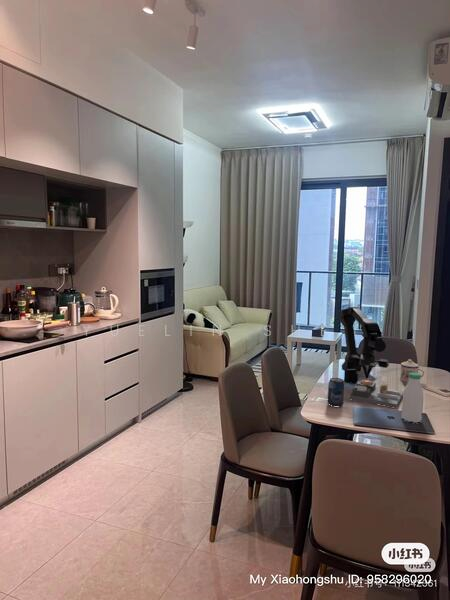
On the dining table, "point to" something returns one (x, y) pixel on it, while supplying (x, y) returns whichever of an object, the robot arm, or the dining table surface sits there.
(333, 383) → the soda can
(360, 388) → the button grey
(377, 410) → the dining table surface
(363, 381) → the button terracotta
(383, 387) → the upright wooden block
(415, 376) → the milk bottle
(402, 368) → the teacup with lid
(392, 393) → the control panel
